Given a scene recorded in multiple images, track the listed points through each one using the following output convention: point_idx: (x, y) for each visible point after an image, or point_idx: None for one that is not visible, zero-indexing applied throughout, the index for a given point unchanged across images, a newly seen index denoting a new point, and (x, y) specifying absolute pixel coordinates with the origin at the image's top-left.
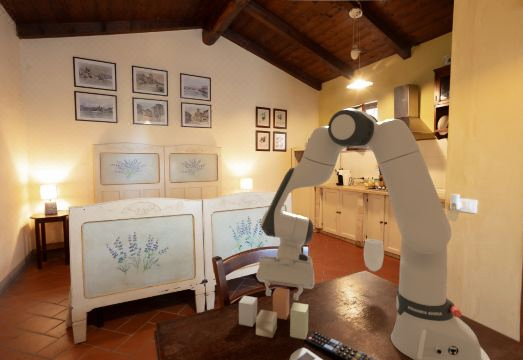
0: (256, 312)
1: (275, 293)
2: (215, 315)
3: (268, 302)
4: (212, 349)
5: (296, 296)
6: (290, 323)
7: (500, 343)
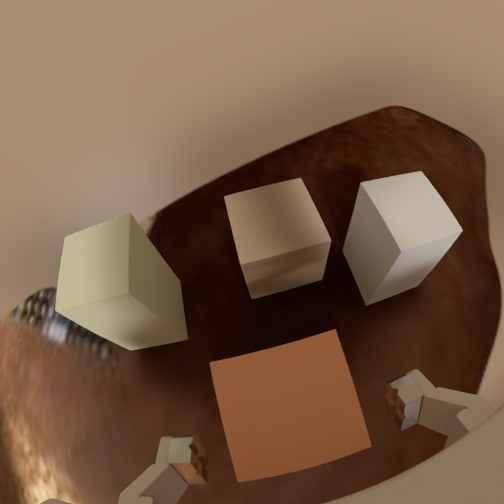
0: (371, 280)
1: (313, 339)
2: (475, 230)
3: (405, 456)
4: (347, 135)
5: (168, 445)
6: (159, 254)
7: None
